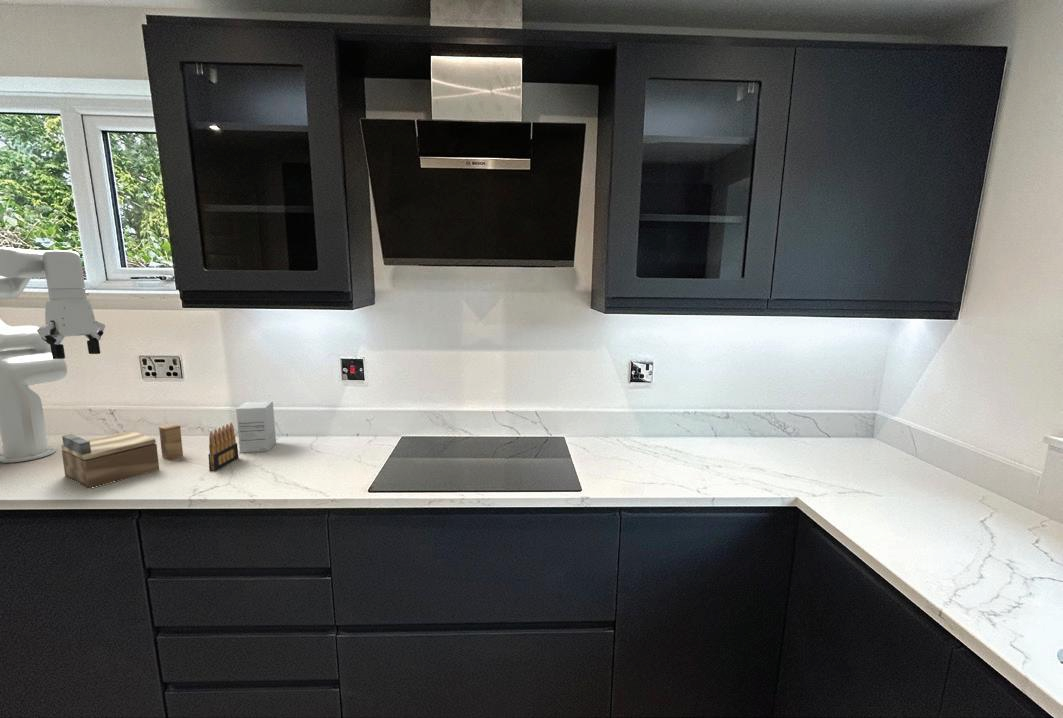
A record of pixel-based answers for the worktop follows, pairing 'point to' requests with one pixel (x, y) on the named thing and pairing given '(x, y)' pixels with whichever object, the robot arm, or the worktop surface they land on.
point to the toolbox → (111, 466)
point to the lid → (104, 444)
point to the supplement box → (256, 426)
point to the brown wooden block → (171, 441)
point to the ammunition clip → (222, 448)
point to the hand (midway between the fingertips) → (77, 356)
